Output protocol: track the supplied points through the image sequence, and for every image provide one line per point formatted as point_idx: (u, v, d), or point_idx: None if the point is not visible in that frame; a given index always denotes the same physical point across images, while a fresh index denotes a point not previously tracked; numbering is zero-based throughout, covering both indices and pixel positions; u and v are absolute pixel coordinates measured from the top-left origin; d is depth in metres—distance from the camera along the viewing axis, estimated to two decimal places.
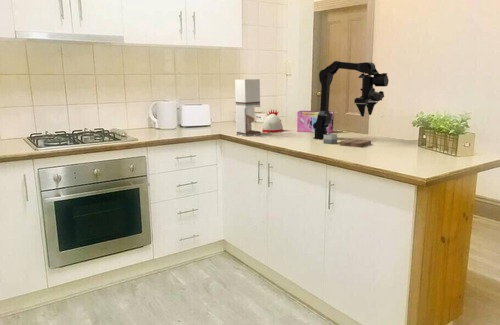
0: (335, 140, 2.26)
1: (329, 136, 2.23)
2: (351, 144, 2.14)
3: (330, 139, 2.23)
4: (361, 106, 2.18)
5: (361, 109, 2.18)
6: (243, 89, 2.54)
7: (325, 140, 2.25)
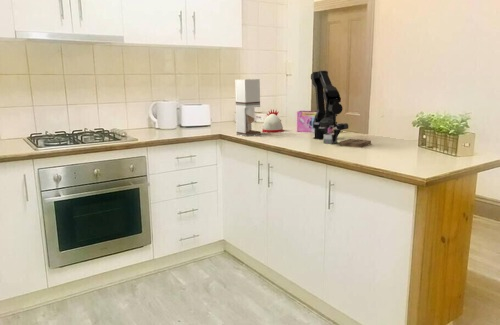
0: None
1: (329, 136, 2.23)
2: (351, 144, 2.14)
3: (330, 139, 2.23)
4: None
5: None
6: (243, 89, 2.54)
7: (325, 140, 2.25)
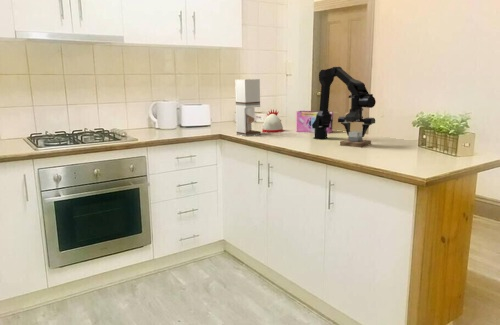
0: (361, 138, 2.18)
1: (355, 133, 2.15)
2: (351, 144, 2.14)
3: (356, 137, 2.15)
4: None
5: None
6: (243, 89, 2.54)
7: (350, 138, 2.17)
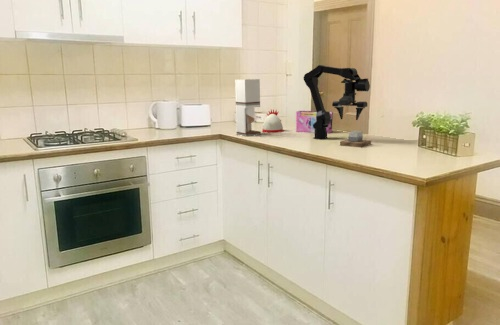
0: (361, 138, 2.18)
1: (355, 133, 2.15)
2: (351, 144, 2.14)
3: (356, 137, 2.15)
4: None
5: None
6: (243, 89, 2.54)
7: (350, 138, 2.17)
